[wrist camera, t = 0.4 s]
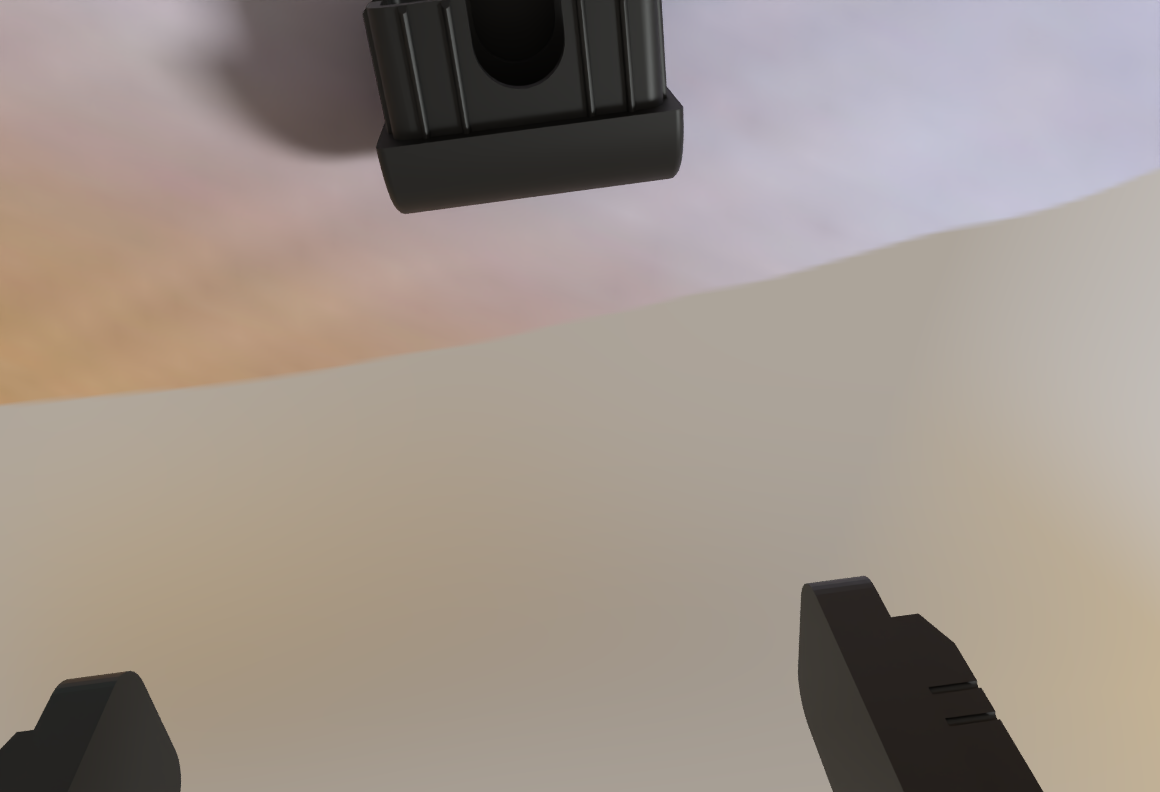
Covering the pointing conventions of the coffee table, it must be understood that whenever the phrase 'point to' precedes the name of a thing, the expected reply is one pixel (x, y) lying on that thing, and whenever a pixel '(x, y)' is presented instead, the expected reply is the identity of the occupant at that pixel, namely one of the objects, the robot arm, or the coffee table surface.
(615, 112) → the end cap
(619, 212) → the coffee table surface
